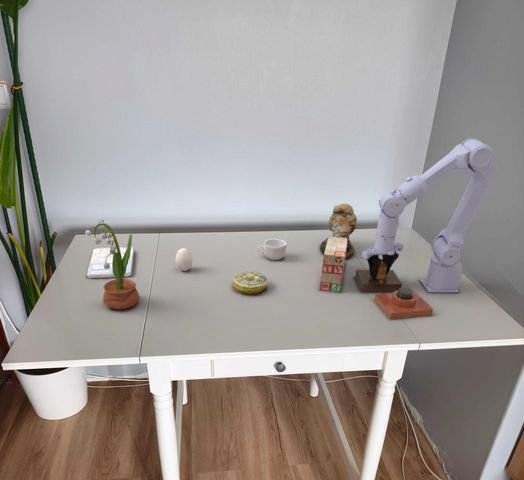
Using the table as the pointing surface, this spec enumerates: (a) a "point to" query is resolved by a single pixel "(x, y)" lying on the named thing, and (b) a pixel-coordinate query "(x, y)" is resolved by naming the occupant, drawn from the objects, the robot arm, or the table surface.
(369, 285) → the dial panel
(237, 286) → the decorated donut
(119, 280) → the potted flower
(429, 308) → the button base
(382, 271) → the dial
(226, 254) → the table surface
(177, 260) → the egg
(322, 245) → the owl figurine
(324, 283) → the stack of blocks
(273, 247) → the teacup
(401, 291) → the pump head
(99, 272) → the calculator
